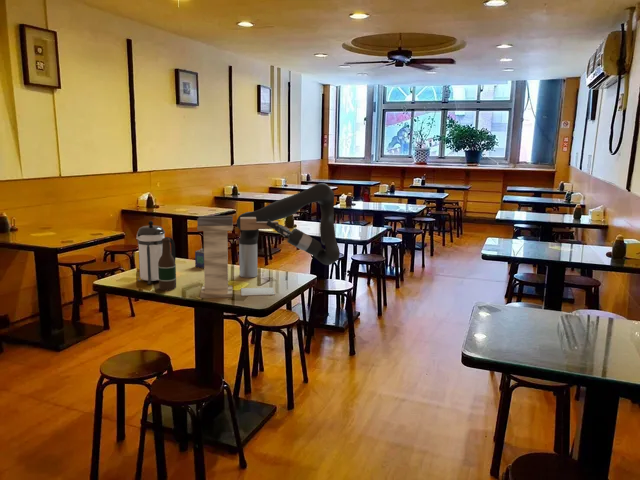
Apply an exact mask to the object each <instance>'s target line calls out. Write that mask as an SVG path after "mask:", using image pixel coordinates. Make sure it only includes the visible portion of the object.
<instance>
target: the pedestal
mask: <svg viewBox="0 0 640 480" xmlns="http://www.w3.org/2000/svg"><path fill="white" fill-rule="evenodd" d="M233 217H234V216H233V215H198V218H196V220H197V227H196V228H197V232H203V252H204V268H203V269H204V271H203V272H204V285H202V286H201V290H200V293H199V298H200V299H218V298H219V299H220V298H223V299H224V298H233V288H234V287H233V284H231V285H229V263H228V262H229V259H228V258H229V255H228V254H229V253H228V250H229V248H228V246H229V245H228V232H229V231H230V232H231V231H233V230H234V229H233V227H234V225H233V224H234V219H233Z"/></svg>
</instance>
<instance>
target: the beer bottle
mask: <svg viewBox="0 0 640 480" xmlns="http://www.w3.org/2000/svg"><path fill="white" fill-rule="evenodd" d="M170 238H171V237H169V238H165V237H164V238H163V239H162V256H161V257H160V259H159V262H158V273H159V280H158V288H159V290H161V291H173V290H175V289H176V288H177V274H176V273H177V270H176V269H177V267H176V266H177V265H176V259H175V260H174V258H173V256H172V255H171V243H170Z"/></svg>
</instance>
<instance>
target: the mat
mask: <svg viewBox="0 0 640 480" xmlns="http://www.w3.org/2000/svg"><path fill="white" fill-rule="evenodd" d="M274 291H275V290H274V287H240V292H241V293H240V295H241V297H254V296H255V297H256V296H275V295H276V294H275V292H274Z"/></svg>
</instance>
